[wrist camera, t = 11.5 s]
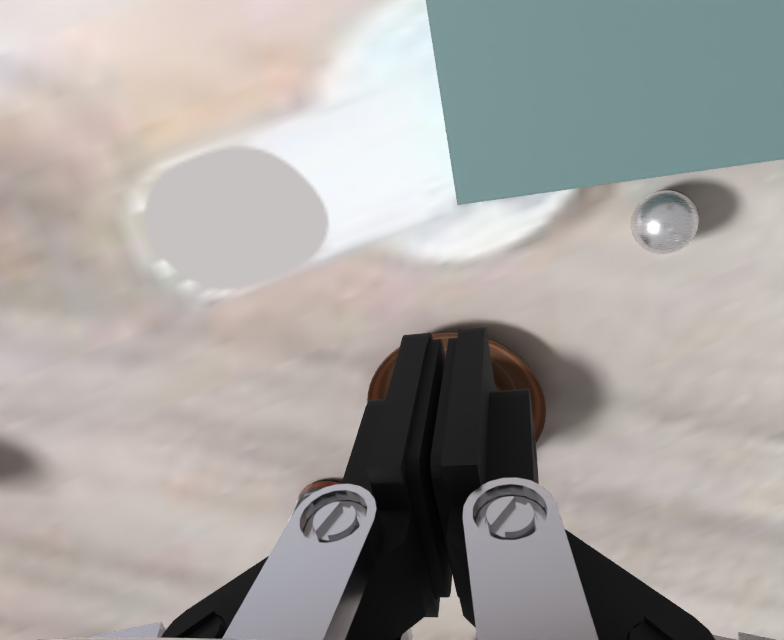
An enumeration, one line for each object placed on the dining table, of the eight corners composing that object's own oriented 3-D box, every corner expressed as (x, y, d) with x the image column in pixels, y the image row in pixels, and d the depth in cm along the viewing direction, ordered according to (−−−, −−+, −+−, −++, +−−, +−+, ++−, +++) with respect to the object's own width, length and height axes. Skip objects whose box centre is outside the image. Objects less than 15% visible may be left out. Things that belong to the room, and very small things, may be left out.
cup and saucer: (567, 438, 44) (575, 502, 39) (413, 474, 48) (402, 537, 43) (508, 296, 39) (509, 348, 34) (343, 350, 43) (321, 404, 38)
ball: (613, 248, 34) (624, 185, 34) (647, 252, 36) (657, 194, 36) (671, 254, 32) (684, 186, 31) (704, 258, 34) (716, 195, 33)
